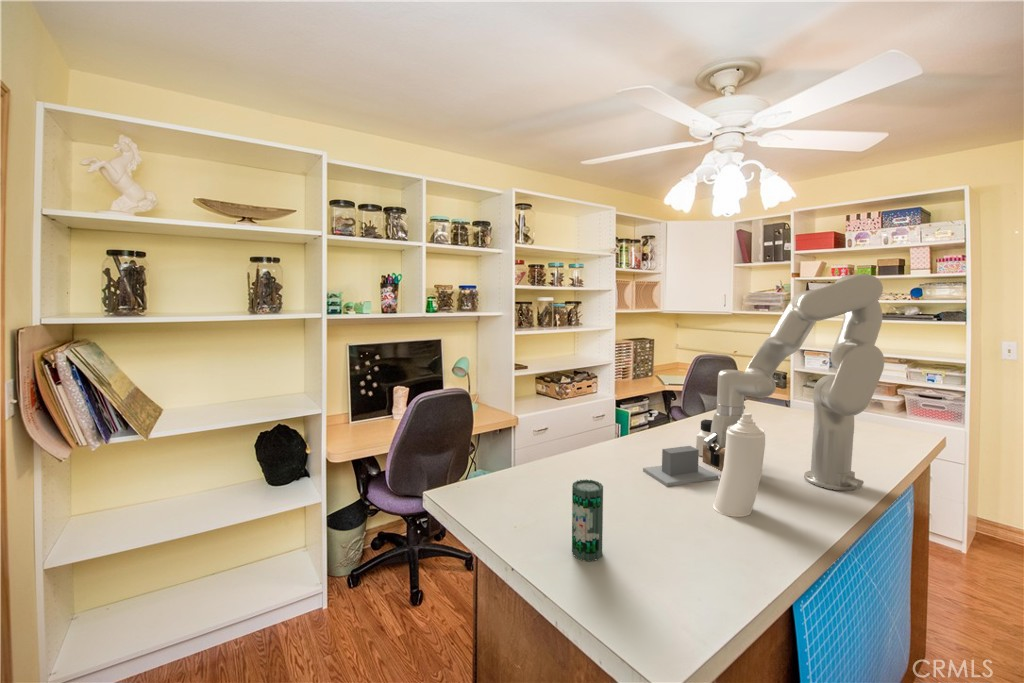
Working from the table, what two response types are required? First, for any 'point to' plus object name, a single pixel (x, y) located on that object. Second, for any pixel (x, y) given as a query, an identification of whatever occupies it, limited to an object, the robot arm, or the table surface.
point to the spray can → (741, 468)
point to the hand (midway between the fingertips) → (727, 463)
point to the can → (587, 519)
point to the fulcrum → (680, 467)
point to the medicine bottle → (703, 435)
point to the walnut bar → (708, 456)
